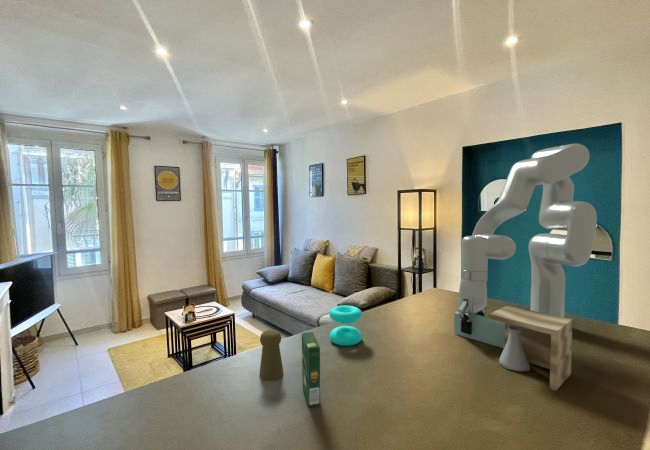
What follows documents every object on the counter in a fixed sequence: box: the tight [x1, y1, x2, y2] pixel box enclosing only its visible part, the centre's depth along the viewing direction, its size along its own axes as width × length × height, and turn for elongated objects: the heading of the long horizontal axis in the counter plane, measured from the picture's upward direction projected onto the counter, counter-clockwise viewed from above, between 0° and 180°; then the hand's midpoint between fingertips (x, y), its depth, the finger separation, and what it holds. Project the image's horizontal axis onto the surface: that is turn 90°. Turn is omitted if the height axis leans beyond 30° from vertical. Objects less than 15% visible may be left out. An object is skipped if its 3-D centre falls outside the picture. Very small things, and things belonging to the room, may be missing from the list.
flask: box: [498, 326, 531, 372], centre depth 84 cm, size 7×7×10 cm
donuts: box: [329, 304, 363, 347], centre depth 101 cm, size 10×10×10 cm
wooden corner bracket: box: [488, 304, 573, 392], centre depth 82 cm, size 11×15×14 cm
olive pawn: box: [258, 329, 284, 382], centre depth 81 cm, size 6×6×11 cm
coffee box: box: [301, 331, 321, 408], centre depth 71 cm, size 8×3×13 cm, turn 13°
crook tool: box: [453, 310, 505, 349], centre depth 100 cm, size 10×22×7 cm, turn 43°
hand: (473, 329), depth 103 cm, fingers open, 8 cm apart
